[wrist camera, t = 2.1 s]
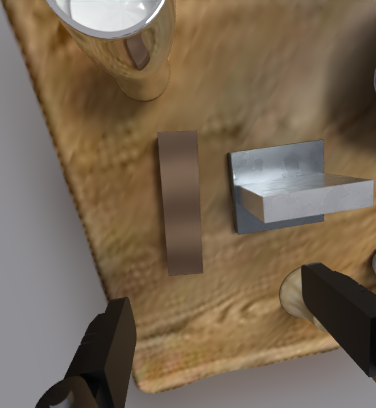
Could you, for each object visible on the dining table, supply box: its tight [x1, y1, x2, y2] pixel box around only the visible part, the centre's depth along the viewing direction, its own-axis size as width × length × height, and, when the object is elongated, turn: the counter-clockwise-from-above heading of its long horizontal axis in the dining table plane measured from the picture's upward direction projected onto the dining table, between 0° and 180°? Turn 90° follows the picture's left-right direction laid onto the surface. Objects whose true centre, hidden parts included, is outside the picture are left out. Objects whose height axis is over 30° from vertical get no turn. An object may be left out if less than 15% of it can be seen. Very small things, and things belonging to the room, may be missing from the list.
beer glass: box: [45, 0, 176, 101], centre depth 18 cm, size 7×7×15 cm
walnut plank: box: [157, 131, 203, 276], centre depth 27 cm, size 16×4×4 cm, turn 3°
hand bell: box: [280, 268, 376, 382], centre depth 25 cm, size 8×8×16 cm
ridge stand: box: [228, 140, 374, 235], centre depth 25 cm, size 10×11×9 cm
